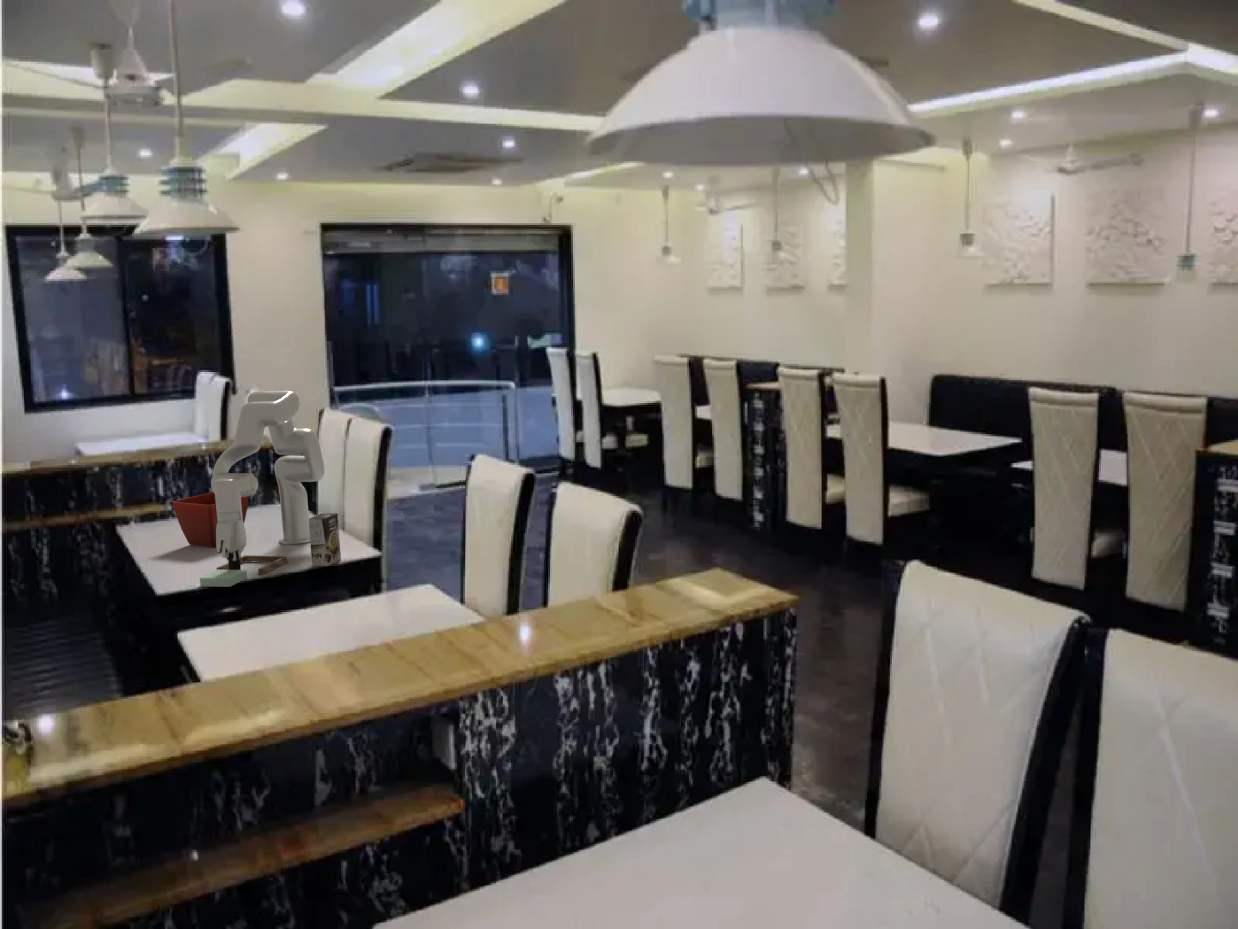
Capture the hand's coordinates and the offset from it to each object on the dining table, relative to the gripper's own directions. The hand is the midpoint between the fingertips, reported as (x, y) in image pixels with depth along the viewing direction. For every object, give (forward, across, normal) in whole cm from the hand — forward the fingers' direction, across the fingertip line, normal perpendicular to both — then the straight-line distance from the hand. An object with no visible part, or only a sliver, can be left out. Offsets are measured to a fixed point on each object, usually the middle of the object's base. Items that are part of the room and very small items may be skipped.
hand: (235, 571), depth 323 cm
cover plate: (+2, +7, 0) cm, 7 cm away
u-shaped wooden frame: (+1, -10, 0) cm, 10 cm away
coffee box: (+2, -19, +22) cm, 29 cm away
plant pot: (+2, -41, -35) cm, 54 cm away
